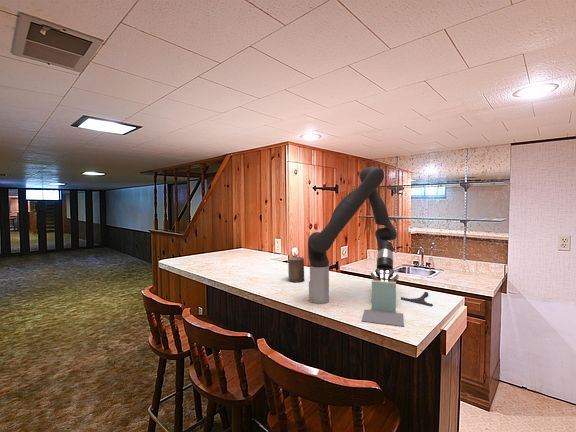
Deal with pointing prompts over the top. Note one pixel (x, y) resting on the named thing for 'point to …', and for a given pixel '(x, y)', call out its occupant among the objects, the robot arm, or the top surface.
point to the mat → (383, 318)
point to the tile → (384, 296)
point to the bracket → (419, 300)
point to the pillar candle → (296, 269)
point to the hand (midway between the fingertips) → (383, 292)
